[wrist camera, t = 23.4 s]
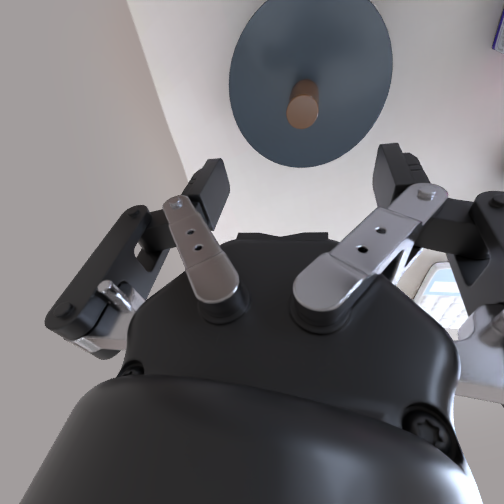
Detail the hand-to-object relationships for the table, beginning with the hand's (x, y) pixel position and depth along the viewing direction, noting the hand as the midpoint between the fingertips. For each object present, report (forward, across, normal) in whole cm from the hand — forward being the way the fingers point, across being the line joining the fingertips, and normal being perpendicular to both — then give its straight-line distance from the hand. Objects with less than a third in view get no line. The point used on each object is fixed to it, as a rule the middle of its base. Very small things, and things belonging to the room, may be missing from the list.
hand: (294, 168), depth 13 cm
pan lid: (+15, 0, +1) cm, 15 cm away
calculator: (+20, -27, +40) cm, 52 cm away
